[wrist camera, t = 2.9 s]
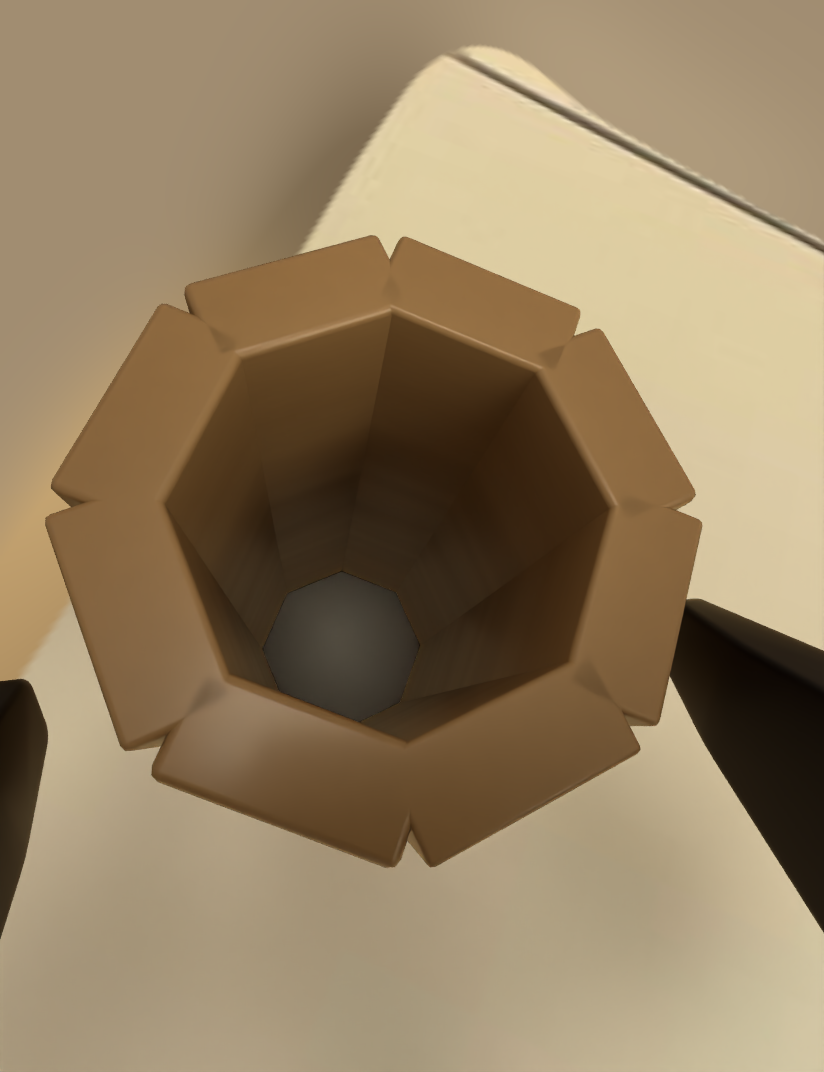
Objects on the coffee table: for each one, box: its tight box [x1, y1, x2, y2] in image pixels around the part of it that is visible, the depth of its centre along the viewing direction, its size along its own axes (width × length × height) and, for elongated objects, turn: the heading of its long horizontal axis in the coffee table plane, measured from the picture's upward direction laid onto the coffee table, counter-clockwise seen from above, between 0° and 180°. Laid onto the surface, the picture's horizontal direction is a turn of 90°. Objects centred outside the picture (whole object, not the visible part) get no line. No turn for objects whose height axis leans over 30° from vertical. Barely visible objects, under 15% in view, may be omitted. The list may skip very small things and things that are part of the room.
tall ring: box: [45, 235, 702, 868], centre depth 12 cm, size 6×6×12 cm
